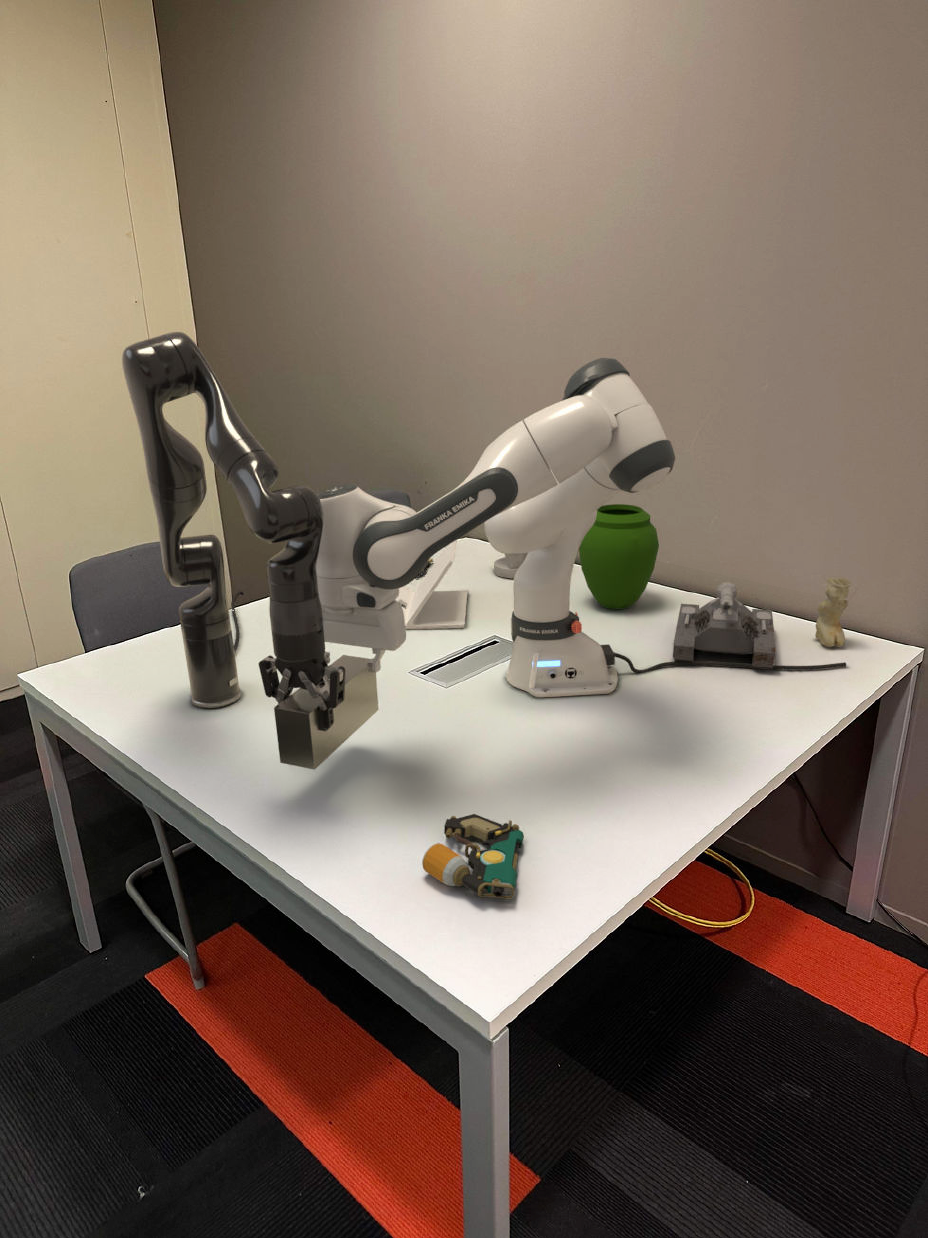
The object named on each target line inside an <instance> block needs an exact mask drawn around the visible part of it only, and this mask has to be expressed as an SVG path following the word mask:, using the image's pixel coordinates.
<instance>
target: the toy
mask: <svg viewBox="0 0 928 1238" xmlns="http://www.w3.org/2000/svg"><path fill="white" fill-rule="evenodd" d="M716 594H717V597H715V598H714V599H711V600H710V601H708V602H707V603H706V604H704V605H703V606H701V607H700V604H691V603H689V604H688V603H680V607H679V612H678V618H677V623H676V627H675V628H676V629H675V634H674V639H673V649H672V650H673V651H672V658H673V662H676V661H691V662H693V661H694V655H695V650H696V651H697V650H698V651H701V652H710V653H723V654H733V655H734V654H735V655H751V664H752V667H754V668H753V669H763V668H765V669H766V670H772V669H771V668H773V665H775V662H776V655H777V646H776V638H775V637H776V636H775V628H774V627H775V626H774V617H773V616H774V615H773V610H772V609H763V608H752V610H751V609H749V608H748V607H747V606H746V605H745V604H744V603H742V601H739V600H738V599H737V598H736V597H737V594H738V588H737V586H736V585H735V584H734V583H733V582H732V581H731V582H729V581H724V582H723V583H721V584H720V585H719V586H718V587H717V590H716ZM765 669H764V670H765Z"/></svg>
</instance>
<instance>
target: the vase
mask: <svg viewBox="0 0 928 1238" xmlns="http://www.w3.org/2000/svg"><path fill="white" fill-rule="evenodd" d="M659 543H660V542H659V537H658V531H657V528H656V527H655V526H654V524H653V523H652V522H651V515H650V514H649V512H647V511H645V510H644V509H643V508H642V507H641V506H638V505H633V504H622V503H621V504H619V503H616V504H615V503H614V504H604V505H602V506H601V507H600V508H599V509H597V517H596V520H595V523H594V524H593V526H592V527H591V528H590V530H589V531H588V532H587V534H586V535H585V537H584V539H583V540H582V543H581V545H580V548H579V550H578V554H579V562H580V569H581V571H582V574H583V577H584V580H585V583H586V585H587V588H588V590H589V591H590V594H592V597H593V598H594V600H595V601H596V602H597V603H598V604H599V605H600V606H602V607H604V608H606V609H609V610H625V609H628V608H630V607H632V606H634V604H636V602H638V601H639V599H640V597H641V596H642V595H643V593H644V592H645V590H646V588H647V586H648V584H649V581H650V579H651V577H652V574H653V572H654V570H655V566H656V562H657V557H658V552H659V548H660V544H659Z"/></svg>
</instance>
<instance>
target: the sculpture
mask: <svg viewBox="0 0 928 1238" xmlns="http://www.w3.org/2000/svg"><path fill="white" fill-rule="evenodd" d="M826 581H827V586H826V588H825V590H824V593H825V595H826V596H827V598H826V600H824V601H822V602H821V603H820V604H819V605H818V606H817V609H816V610H817V612H818V614H819V616H818V617H817V619H816V623H815V630H816V631H815V634H814V635H815V639H817V640H819V642H820V643H821V644H822V645H823V646H825V647H827V648H832V647H834V646H835V647H843V646H844V645H845V643H846V642H845V641H846V636H845V632H844V630H843V626H842V624H841V622H840V621H841V617H842V615H843V612H844V610H845V609H846V608H847V606H848V604H849V603H848V602H849V601H847V598H848V597H849V592H850V586H851V585H852V582H850V580H848V579H847V578H845V577H841V576H840V577H835V578H831V577H827V578H826Z"/></svg>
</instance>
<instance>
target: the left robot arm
mask: <svg viewBox="0 0 928 1238" xmlns="http://www.w3.org/2000/svg"><path fill="white" fill-rule="evenodd" d="M121 365H122V371H123V375H124V379H125V384H126V387H127V391H128V395H129V398H130V400H131V404H132V408H133V412H134V415H135V418H136V422H137V425H138V430H139V434H140V439H141V444H142V450H143V456H144V462H145V469H146V475H147V481H148V486H149V490H150V495H151V499H152V502H153V503H152V504H153V507H154V511H155V517H156V521H157V527H158V535H159V544H160V554H161V563H162V568H163V573H164V575H165V578H166V581H167V582H168V583H169V584H170V585H171V586H173V587H175V588H186V587H195V586H204V585H205V586H206V585H207V587H206V588H205V589H204V590H202V591H201V592H200V593H199V594H197V595H194V596H193V597H191V598H190V599H187V600H186V601H183V603H181V604H180V606H179V607H178V617H179V623H180V630H181V636H182V641H183V642H182V643H183V649H184V654H185V662H186V667H187V668H186V669H187V674H188V681H189V687H190V688H189V689H190V693H191V696H190V697H191V702H192V704H193V705H194V706H195V707H198V708H201V709H216V708H223V707H226V706H229V705H231V704H233V703H235V702H236V701H238V700H239V699H240V698H241V695H242V693H241V688H240V682H239V674H238V666H237V661H236V654H235V652H236V650H237V647H238V644H239V641H240V626H239V622H238V618H237V614H236V608H235V603H236V600H237V599H238V597H239V595H241V596H243V595H245V593H244V592H243V591H242V590H241V591H238V592H236V593H235V595H234V596H233V597H232V599H231V603H230V607H229V601H228V596H227V589H226V576H225V574H226V573H225V562H224V561H225V560H224V552H223V547H222V543H221V541H220V539H219V538H218V537H217V536H216V535H215V534H203V535H191V536H183V537H182V535H183V532H184V530H185V528H186V527H187V525H188V524H189V522H190V521H191V519H192V518H194V516H195V514H197V512H198V511H199V509H200V507H201V506H202V504H203V503H204V501H205V498H206V495H207V489H208V487H207V477H206V470H205V469H206V468H205V463H204V462H205V461H204V459H203V456H202V454H201V453H200V451H199V450H198V447H196V446H195V445H194V444H193V443H192V442H191V441H190V440H188V439H187V437H185V436H184V435H183V434H181V433H180V432H179V431H177V429H175V428H174V427H173V426H171V424H170V423H169V422H168V421H167V420H166V419H165V417H164V413H163V408H164V405H165V404H166V403H170V402H173V401H176V400H178V399H181V398H185V397H187V396H189V395H192V394H196V395H197V396H198V397H199V399H201V401H202V404H203V405H204V406H203V407H204V415H205V417H204V418H205V419H204V420H205V421H204V423H205V424H204V441H205V447H206V451H207V453H208V456H209V457H210V460H211V462H212V463H213V464H214V466H215V467H216V469H217V470H218V471H219V473H220V474H221V475H222V476H223V478H224V479H225V480H226V482H227V483H228V484H229V485H230V487H232V488H233V491H234V493H235V495H236V498H237V500H238V503H239V505H240V507H241V510H242V513H243V515H244V518H245V522H246V524H247V526H248V528H249V530H250V532H251V533H252V534H253V536H255V537H256V538H257V539H259V540H260V541H262V542H264V543H267V544H279V543H282V542H286V543H285V546H284V547H283V548H282V550H280V552H278V553H276V554H275V555H273V556H272V557H271V558H269V560H268V561H267V564H266V577H267V587H268V596H269V620H270V621H269V622H270V628H271V630H270V631H271V637H272V647H273V654H274V656H275V657H274V656H273V655H268V656H266V657H265V658H263V659H261V660H260V661H259V662H258V668H259V672H260V676H261V677H260V678H261V680H262V686H263V690H264V694H265V696H266V697H267V698H273V699H275V701H276V702H277V705H278V704H279V703H281V702H282V701H283V700H285V699H286V698H287V697H289V696H290V695H291V694H293V690H294V689H299V688H302V689H304V690H308V692H309V694H310V695H311V697H312V698H315V700H316V702H317V704H318V706H319V707H320V710H319V717H320V727H321V731H327V730H328V729H329V728H330V727H331V726H332V725H333V723H334V715H333V708H336V707H337V706H338V705H339V704H340V703H342V702H343V701H344V695H345V668H344V667H343V666H340V667H338V668H334V667H331V666H329V663H328V664H327V662H326V660H325V658H324V654H325V651H326V642H325V639H324V628H323V617H322V608H321V602H320V599H319V593H318V581H317V572H316V564H317V559H318V554H319V548H320V542H321V537H322V531H323V524H324V513H323V507H322V504H321V501H320V499H319V497H318V496H317V494H318V493H316V492H315V491H314V489H312V488H310V487H309V486H306V485H294V486H290V487H285V488H281V489H277V490H273V491H270V489H271V488H273V487H274V485H275V484H276V483H277V480H278V478H279V474H280V473H279V472H280V471H279V467H278V465H277V463H276V462H275V460H274V458H273V457H272V456H271V455H270V454H269V452H267V450H266V449H265V448H264V447H263V445H262V444H261V443H260V442H259V440H258V439H257V437H255V436H254V434H253V433H252V432H251V430H250V429H249V428H248V427H247V425H246V424H245V422H244V421H243V419H242V418H241V416H240V414H239V413H238V411H237V409H236V408H235V406H234V405H233V402H232V401H231V399H230V397H229V396H228V394H227V391H226V390H225V389H224V387H223V384H222V382H220V379H219V378H218V376H217V375H216V373H215V371H214V370H213V368H212V367H211V366H212V365H210V363H209V361H208V360H207V358H206V357H205V355H204V353H203V352H202V350H201V349H200V347H199V346H198V344H197V343H196V342H195V341H194V340H193V339H192V338H191V337H190V336H189V335H187V334H186V333H184V332H182V331H172V332H167V333H164V334H161V335H158V336H154V337H151V338H148V339H147V338H146V339H144V340H140V341H137V342H134V343H132V344H130V345H128V346H126V347H125V348H124V349H123V351H122V355H121ZM230 608H231V613H232V617H233V622H234V626H235V632H236V633H235V640H234V638H233V630H232V624H231V617H230V616H231V615H230ZM232 610H234V611H232ZM278 672H279V674H280V675H281V680H280V679H279V674H278ZM325 674H326V675H327V677H328V680H327V681H328V682H330V691H329V684H328V683H327V681H326V679H325V677H324V675H325ZM318 684H319V688H318V689H317V688H316V687H315V686H317V685H318ZM322 695H323V696H322Z"/></svg>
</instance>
